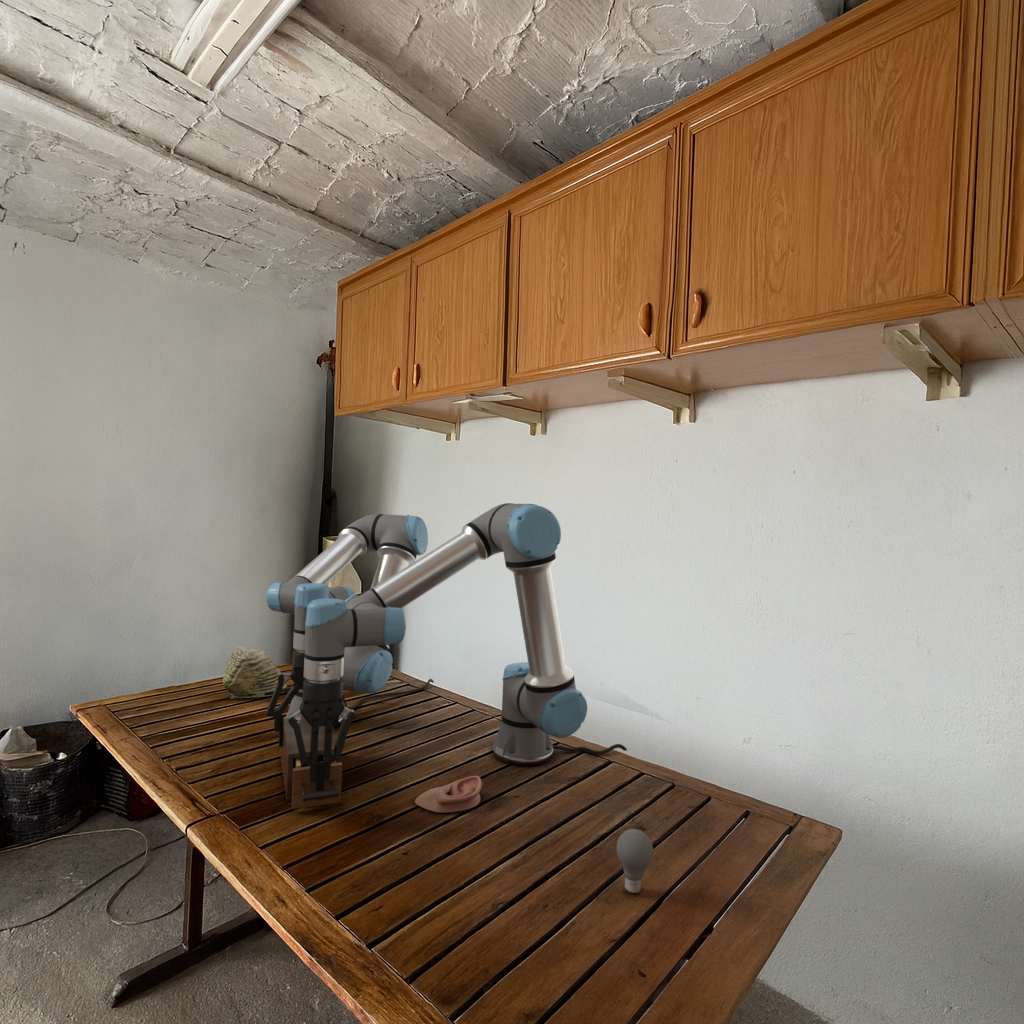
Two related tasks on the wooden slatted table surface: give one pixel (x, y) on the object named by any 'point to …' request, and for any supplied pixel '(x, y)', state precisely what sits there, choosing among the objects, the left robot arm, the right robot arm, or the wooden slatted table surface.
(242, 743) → the wooden slatted table surface
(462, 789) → the anatomical model
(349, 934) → the wooden slatted table surface
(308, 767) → the drawer
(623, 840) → the light bulb
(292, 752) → the cabinet
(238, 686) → the fossil
